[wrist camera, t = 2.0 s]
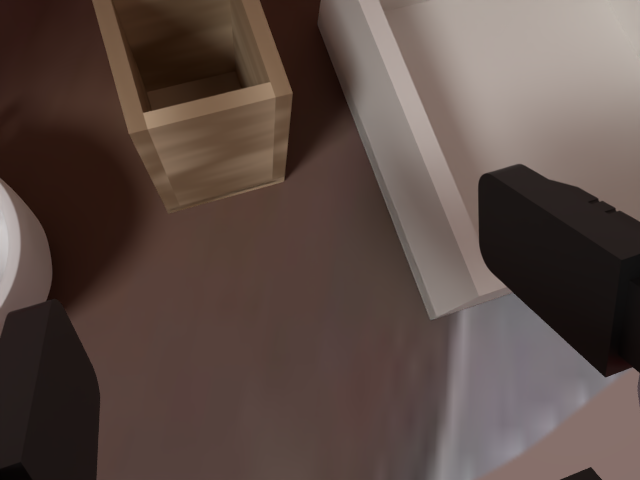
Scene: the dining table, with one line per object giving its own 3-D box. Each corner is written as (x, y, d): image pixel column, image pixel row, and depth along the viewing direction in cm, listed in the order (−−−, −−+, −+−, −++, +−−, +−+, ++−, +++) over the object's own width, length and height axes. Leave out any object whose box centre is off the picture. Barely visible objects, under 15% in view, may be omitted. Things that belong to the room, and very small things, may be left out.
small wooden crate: (168, 213, 26) (128, 133, 18) (133, 90, 27) (83, -31, 20) (284, 181, 27) (292, 93, 19) (244, 64, 28) (237, -61, 21)
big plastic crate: (430, 320, 26) (479, 296, 20) (317, 24, 29) (330, -69, 24) (721, 221, 28) (838, 175, 23) (585, -37, 32) (655, -133, 26)
